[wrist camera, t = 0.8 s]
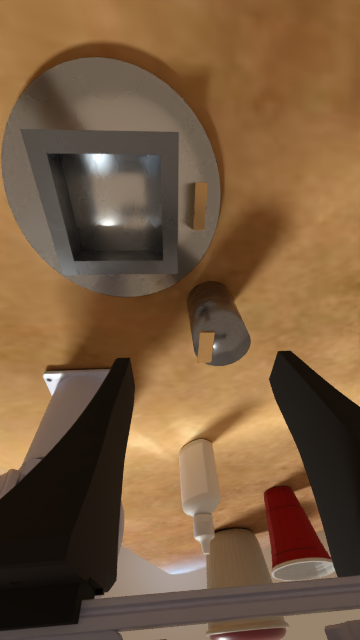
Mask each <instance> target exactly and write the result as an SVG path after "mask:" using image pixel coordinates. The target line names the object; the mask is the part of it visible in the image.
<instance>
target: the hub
mask: <svg viewBox="0 0 360 640" xmlns="http://www.w3.org/2000/svg"><path fill="white" fill-rule="evenodd" d="M1 162H2V176H3V182H4V187H5V192H6V196H7V199H8V202H9V205H10V208H11V211H12V213H13V215H14V218H15V220H16V222H17V224H18V226H19V227H20V229H21V231H22V233H23V234H24V236H25V237H26V239H27V240H28V242H29V243H30V244H31V246H32V247H33V248H34V250H35V251H36V252H37V253H38V254H39V255H40V256H41V258H42V259H43V260H45V261H46V262H47V263H48V264H49V265H50V266H51V267H52V268H53V269H55V270H56V271H57V272H58V273H60V274H61V275H62V276H64V277H65V278H67V279H69V280H70V281H72V282H74V283H76V284H78V285H80V286H82V287H84V288H86V289H89V290H91V291H94V292H97V293H101V294H105V295H111V296H117V297H135V296H143V295H148V294H152V293H155V292H159V291H161V290H164V289H166V288H168V287H170V286H172V285H173V284H175V283H177V282H178V281H180V280H181V279H182V278H184V277H185V276H186V275H187V274H188V273H189V272H190V271H191V270H192V269H193V268H194V267H195V266H196V265H197V264H198V262H199V261H200V260H201V258H202V257H203V256H204V254H205V252H206V250H207V249H208V247H209V245H210V243H211V240H212V238H213V236H214V233H215V229H216V226H217V222H218V217H219V211H220V197H221V190H220V177H219V172H218V167H217V162H216V158H215V155H214V152H213V149H212V146H211V143H210V141H209V139H208V137H207V135H206V132H205V130H204V128H203V127H202V125H201V123H200V122H199V120H198V118H197V117H196V115H195V114H194V112H193V111H192V110H191V108H190V107H189V106H188V105H187V104H186V102H185V101H184V100H183V99H182V97H180V96H179V95H178V94H177V93H176V92H175V91H174V90H173V89H172V88H171V87H170V86H169V85H168V84H166V83H165V82H163V81H162V80H161V79H159V78H158V77H156V76H155V75H153V74H152V73H150V72H148V71H146V70H144V69H142V68H140V67H138V66H136V65H133V64H130V63H127V62H124V61H120V60H117V59H110V58H102V57H91V58H79V59H75V60H71V61H67V62H63V63H61V64H59V65H57V66H55V67H53V68H51V69H49V70H47V71H45V72H44V73H43V74H41V75H40V76H39V77H38V78H36V79H35V80H34V81H33V82H32V83H31V84H30V85H29V86H28V87H27V88H26V89H25V91H24V92H23V93H22V94H21V96H20V97H19V99H18V101H17V102H16V104H15V106H14V107H13V109H12V112H11V114H10V117H9V119H8V122H7V124H6V128H5V133H4V137H3V143H2V156H1Z"/></svg>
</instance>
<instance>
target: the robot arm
mask: <svg viewBox="0 0 360 640" xmlns="http://www.w3.org/2000/svg"><path fill="white" fill-rule="evenodd" d="M43 378H44V380H45V382H46V384H47V386H48V388H49V390H50V393H51V395H52V398H51V400H50V403H49V405H48V407H47V409H46V412H45V414H44V416H43V419H42V421H41V423H40V425H39V428H38V430H37V432H36V434H35V437H34V439H33V441H32V444H31V446H30V448H29V450H28V453H27V455H26V457H25V459H24V462H23V464H22V466H21V467H20V469H19V470H15V469H10V470H9V471H8V472H7V473H4V474H3V475H1V476H0V640H123V639H122V636H121V634H120V633H118V632H122V631H132V630H143V629H154V628H163V627H174V626H183V625H184V626H185V625H195V624H206V623H216V622H227V621H237V620H248V619H258V618H268V617H279V616H288V615H299V614H309V613H321V612H331V611H341V610H351V609H360V407H359V406H358V405H357V404H355V403H354V402H352V401H351V400H350V399H348V398H347V397H346V396H344V395H343V394H342V393H340V392H339V391H338V390H337V389H335V388H334V387H333V386H332V385H330V384H329V383H328V382H327V381H325V380H324V379H323V378H322V377H321V376H319V375H318V374H317V373H316V372H315V371H314V370H312V369H311V368H310V367H309V366H308V365H307V364H305V363H304V362H303V361H302V360H301V359H300V358H298V357H297V356H296V355H295V354H294V353H292V352H291V351H278V353H277V356H276V359H275V362H274V365H273V369H272V372H271V375H270V378H269V381H270V384H271V387H272V391H273V394H274V397H275V399H276V402H277V404H278V406H279V408H280V411H281V413H282V415H283V417H284V419H285V421H286V424H287V426H288V428H289V430H290V432H291V434H292V436H293V439H294V441H295V443H296V445H297V448H298V450H299V453H300V455H301V458H302V461H303V464H304V467H305V470H306V472H307V475H308V479H309V482H310V485H311V488H312V491H313V494H314V497H315V500H316V504H317V507H318V510H319V514H320V517H321V521H322V524H323V528H324V531H325V535H326V539H327V543H328V546H329V550H330V554H331V558H332V562H333V566H334V569H335V571H336V574H337V576H338V577H336V578H326V579H315V580H303V581H292V582H280V583H269V584H258V585H247V586H236V587H224V588H213V589H202V590H191V591H180V592H168V593H159V594H158V593H157V594H146V595H135V596H125V597H112V598H101V595H104V592H108V591H109V590H110V589H111V587H112V586H113V585H114V583H115V582H116V577H117V557H118V554H119V550H120V547H121V543H122V538H123V531H124V510H123V505H122V501H121V494H122V481H123V470H124V460H125V453H126V447H127V441H128V436H129V430H130V424H131V418H132V412H133V406H134V391H135V384H134V378H133V372H132V367H131V361H130V358H117V359H116V360H115V361H114V363H113V365H112V367H111V369H95V370H65V371H46V372H44V374H43ZM100 598H101V599H100ZM325 633H326V635H327V639H328V640H360V620H353V621H347V622H345V623H340V624H335V625H330V626H326V627H325ZM162 640H166V639H162Z"/></svg>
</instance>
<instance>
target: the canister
mask: <svg viewBox="0 0 360 640" xmlns="http://www.w3.org/2000/svg"><path fill="white" fill-rule="evenodd" d="M206 562H207V589H213V588H224V587H236V586H247V585H258V584H269V583H272V580H271V577H270V574H269V571H268V568H267V565H266V562H265V559H264V556H263V553H262V551H261V547H260V545H259V542H258V540H257V538H256V536H255V535H254V534H253V533H252V532H251V531H249V530H246V529H226V530H222V531H218V532H216V533H215V537H214V538H213V539H212V540H211V541H210V554H206ZM286 628H289V624H288V623H286V622H285V620H284V617H283V616H279V617H268V618H258V619H248V620H237V621H227V622H216V623H208V631H207V632H206V636H208V637H210V638H211V640H279V639H281V638H283V637H284V636H285V633H286Z"/></svg>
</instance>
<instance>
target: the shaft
mask: <svg viewBox="0 0 360 640" xmlns="http://www.w3.org/2000/svg"><path fill="white" fill-rule="evenodd" d="M187 307H188V313H189V320H190V326H191V333H192V339H193V346H194V352H195V354H196V356H197V363H206V364H208V365H212V366H224V365H228V364H231V363H234V362H236V361H238V360H239V359H241V358H242V357H243V356H244V355H245V354H246V353H247V351H248V349H249V347H250V343H251V339H250V336H249V333H248V331H247V329H246V327H245V325H244V322H243V320H242V318H241V316H240V314H239V311H238V309H237V307H236V305H235V303H234V300H233V298H232V296H231V294H230V292H229V290H228V289H227V287H225V286H224V285H223V284H221V283H218V282H205V283H202V284H199V285H198V286H196V287H195V288H194V289H193V290H192V291H191V292H190V294H189V296H188V299H187Z"/></svg>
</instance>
